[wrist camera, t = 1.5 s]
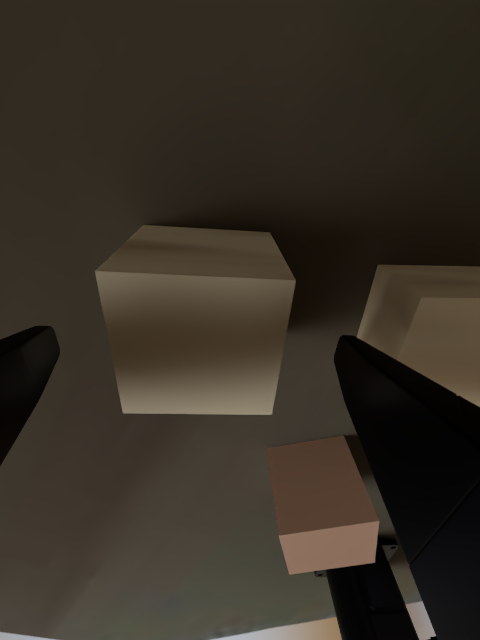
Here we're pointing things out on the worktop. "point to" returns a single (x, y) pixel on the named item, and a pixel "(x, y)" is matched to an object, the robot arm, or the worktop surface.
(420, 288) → the oak base block
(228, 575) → the worktop surface
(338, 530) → the terracotta block
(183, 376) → the beech block
